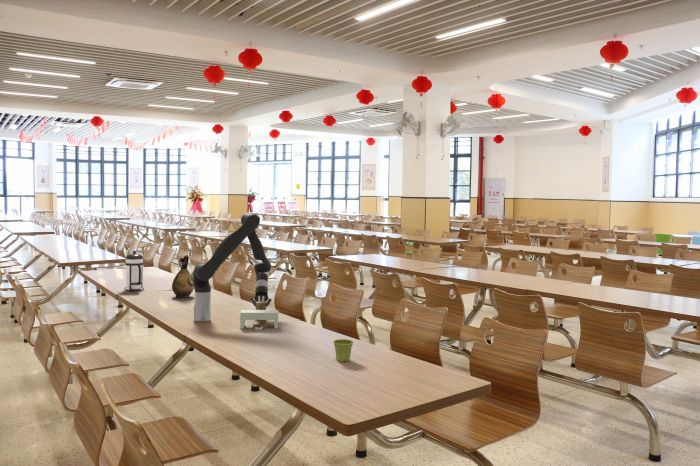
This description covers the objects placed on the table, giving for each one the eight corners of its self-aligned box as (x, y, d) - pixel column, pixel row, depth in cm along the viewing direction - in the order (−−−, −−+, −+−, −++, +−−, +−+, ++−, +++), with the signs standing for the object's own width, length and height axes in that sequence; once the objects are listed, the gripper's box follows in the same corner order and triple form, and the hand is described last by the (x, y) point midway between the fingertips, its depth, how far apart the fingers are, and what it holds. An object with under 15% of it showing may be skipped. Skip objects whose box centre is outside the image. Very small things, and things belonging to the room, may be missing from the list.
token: (254, 330, 318) (254, 328, 318) (255, 328, 323) (255, 325, 323) (263, 330, 318) (263, 328, 318) (263, 328, 323) (263, 326, 323)
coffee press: (118, 291, 426) (118, 251, 424) (130, 288, 442) (130, 249, 440) (140, 292, 423) (140, 252, 421) (151, 289, 439) (151, 250, 437)
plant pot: (346, 364, 258) (346, 345, 257) (328, 360, 263) (329, 342, 262) (356, 359, 266) (357, 341, 265) (339, 356, 271) (340, 338, 270)
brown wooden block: (252, 327, 323) (253, 306, 322) (254, 321, 338) (254, 301, 337) (267, 327, 324) (267, 306, 323) (267, 321, 339) (268, 301, 338)
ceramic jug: (190, 299, 403) (191, 257, 401) (168, 298, 403) (169, 256, 401) (197, 295, 420) (197, 254, 418) (176, 294, 420) (176, 253, 418)
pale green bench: (240, 328, 320) (240, 312, 319) (241, 325, 328) (241, 309, 327) (277, 328, 322) (278, 312, 321) (278, 325, 330) (278, 310, 329)
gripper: (250, 285, 346) (249, 309, 335) (272, 285, 348) (272, 309, 336) (250, 292, 352) (249, 316, 340) (272, 292, 353) (271, 316, 342)
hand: (260, 312), depth 338 cm, fingers closed
